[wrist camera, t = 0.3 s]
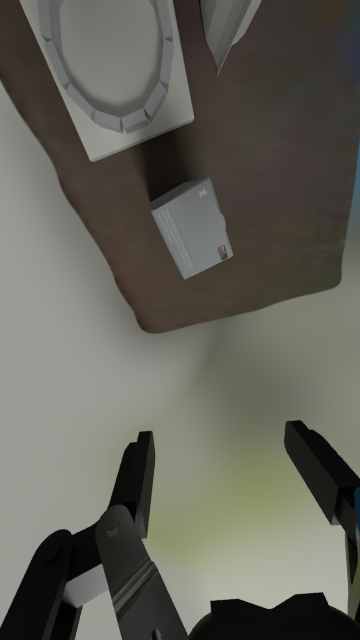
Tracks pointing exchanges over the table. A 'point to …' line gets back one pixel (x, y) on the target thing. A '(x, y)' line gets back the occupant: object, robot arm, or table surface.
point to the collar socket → (114, 68)
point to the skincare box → (192, 226)
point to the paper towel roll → (226, 24)
